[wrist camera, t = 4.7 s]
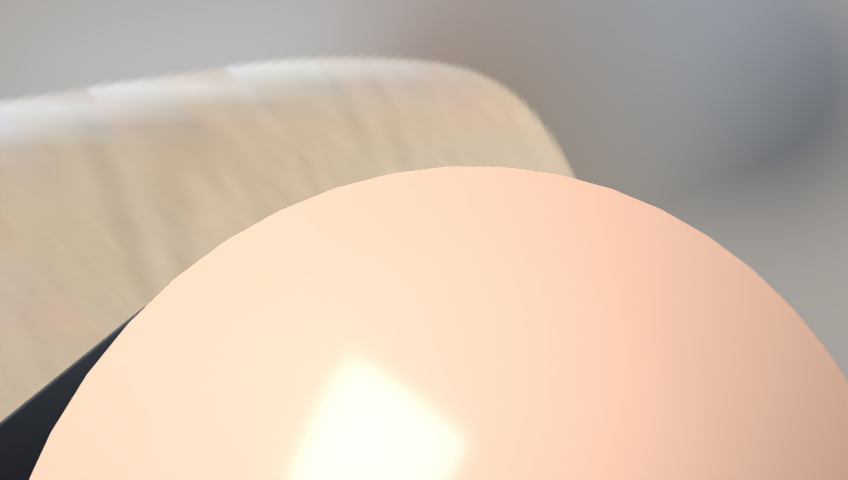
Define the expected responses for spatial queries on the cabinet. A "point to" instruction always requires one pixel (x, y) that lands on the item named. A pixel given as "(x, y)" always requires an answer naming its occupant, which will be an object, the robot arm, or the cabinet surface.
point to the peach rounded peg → (461, 349)
